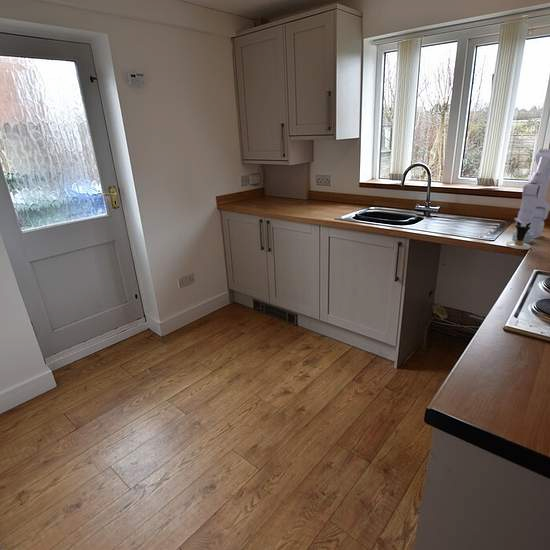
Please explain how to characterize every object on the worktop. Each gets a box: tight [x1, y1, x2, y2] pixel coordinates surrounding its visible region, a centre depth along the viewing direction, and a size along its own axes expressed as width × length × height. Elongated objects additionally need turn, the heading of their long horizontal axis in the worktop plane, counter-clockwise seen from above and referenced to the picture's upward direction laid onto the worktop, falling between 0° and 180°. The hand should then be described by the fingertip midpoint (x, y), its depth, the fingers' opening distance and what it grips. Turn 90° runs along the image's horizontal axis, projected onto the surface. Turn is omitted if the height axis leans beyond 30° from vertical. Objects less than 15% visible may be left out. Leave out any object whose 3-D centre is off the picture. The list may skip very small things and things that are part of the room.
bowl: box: [511, 230, 533, 244], centre depth 185 cm, size 8×8×4 cm
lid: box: [505, 238, 532, 250], centre depth 177 cm, size 10×10×4 cm
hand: (520, 238), depth 176 cm, fingers open, 7 cm apart
